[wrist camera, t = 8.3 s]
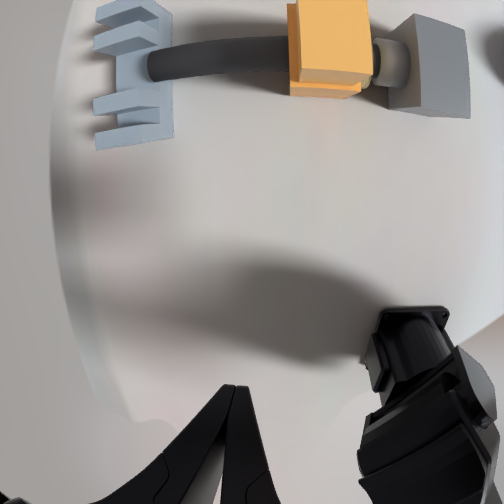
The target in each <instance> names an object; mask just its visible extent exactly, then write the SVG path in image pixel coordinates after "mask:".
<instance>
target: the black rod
mask: <svg viewBox="0 0 504 504" xmlns="http://www.w3.org/2000/svg"><path fill="white" fill-rule="evenodd" d="M372 45H373V75H372V78H377V77H378V75H379V73H380V68H381V53H380V49H379V46H378V45H377V44H373V43H372ZM147 70H148V74H149V76H150V78H151V80H152V81H153V82H161V81H167V80H173V79H179V78H186V77H194V76H202V75H212V74H223V73H236V72H256V71H290V68H289V40H288V36H277V37H248V38H234V39H223V40H214V41H206V42H198V43H192V44H186V45H180V46H174V47H169V48H164V49H159V50H155V51H151V52H150V53H149V55H148V59H147Z"/></svg>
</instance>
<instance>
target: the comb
mask: <svg viewBox="0 0 504 504" xmlns="http://www.w3.org/2000/svg"><path fill="white" fill-rule="evenodd" d="M95 22H97V23H100V24H103V25H105V26H108V27H111V28H113V29H112V30H109V31H106V32H103V33H101V34H98V35H95V36H94V45H93V51H96V52H100V53H104V54H108V55H112V56H116V93H113V94H110V95H106V96H102V97H98V98H95V99H93V116H102V115H117V123H118V129H113V130H108V131H103V132H98V133H95V145H96V150H102V149H108V148H114V147H121V146H127V145H135V144H142V143H147V142H152V141H157V140H163V139H168V138H174V131H173V109H172V80H167V81H161V82H153V81H152V80H151V78H150V76H149V74H148V70H147V59H148V55H149V53H150V52H151V51H155V50H159V49H164V48H169V47H171V46H172V14H171V13H170V12H169V11H167V10H166V9H165V8H163V7H162V6H161V5H159V4H158V3H156V2H155V1H154V0H116V1H114V2H111V3H108V4H106V5H103V6H101V7H98V8H97V9H96V18H95Z"/></svg>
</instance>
